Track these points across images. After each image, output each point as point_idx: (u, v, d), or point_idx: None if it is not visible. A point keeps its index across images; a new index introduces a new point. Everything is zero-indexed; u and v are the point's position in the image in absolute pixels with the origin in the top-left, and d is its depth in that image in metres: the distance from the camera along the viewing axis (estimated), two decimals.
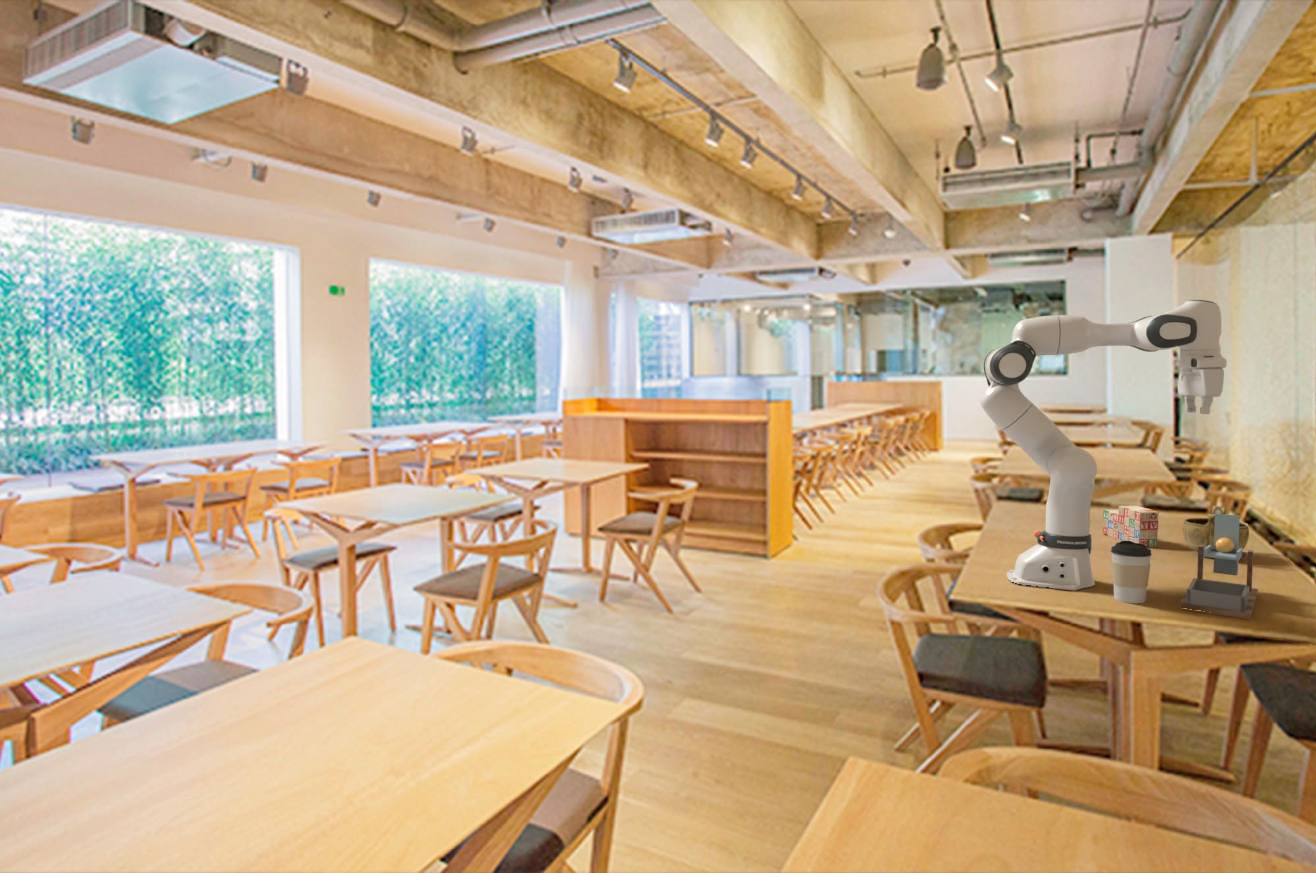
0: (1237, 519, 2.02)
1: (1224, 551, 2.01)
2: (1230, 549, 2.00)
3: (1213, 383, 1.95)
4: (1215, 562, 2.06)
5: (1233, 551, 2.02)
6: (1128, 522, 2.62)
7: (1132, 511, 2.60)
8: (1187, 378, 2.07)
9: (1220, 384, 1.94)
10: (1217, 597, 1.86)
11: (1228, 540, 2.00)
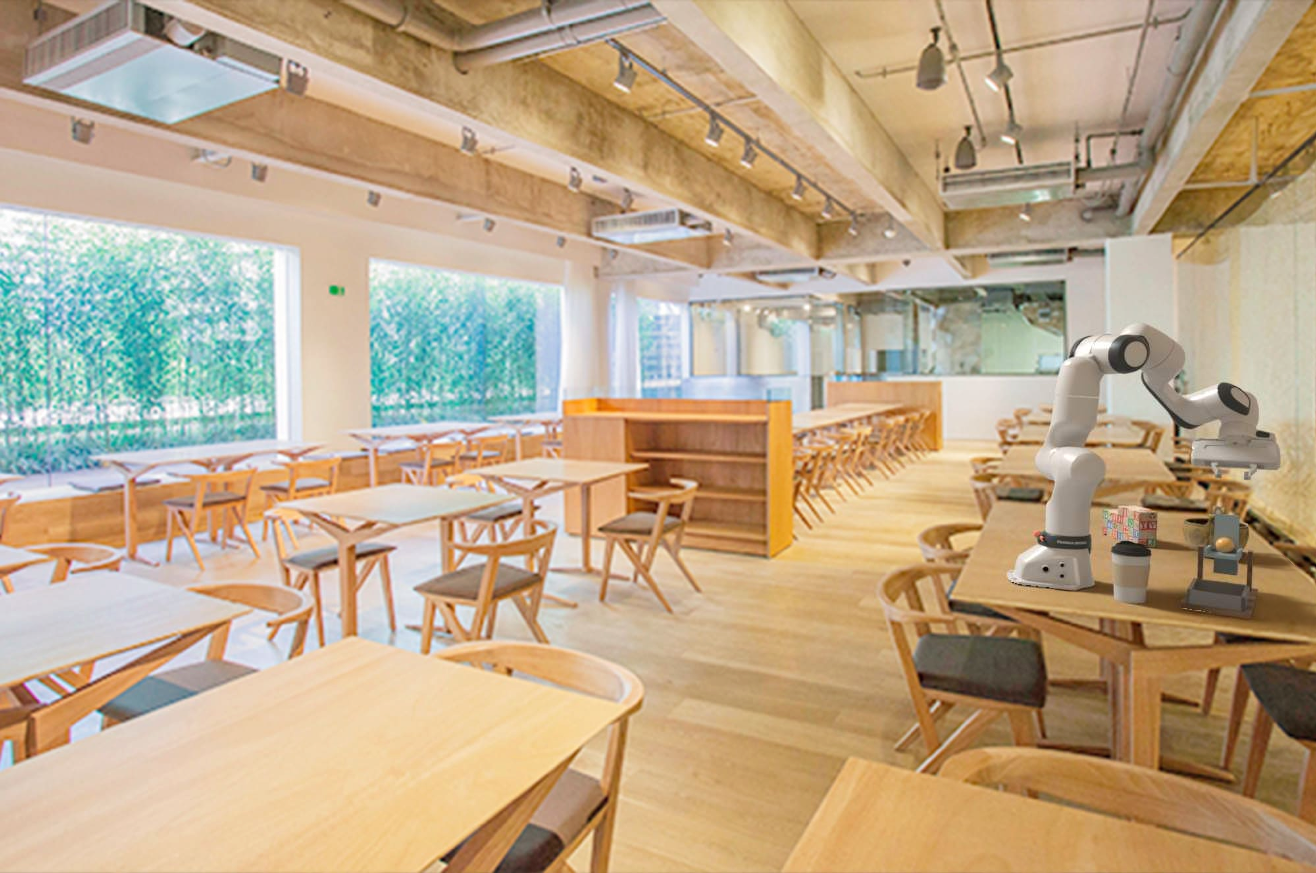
0: (1237, 519, 2.02)
1: (1224, 551, 2.01)
2: (1230, 549, 2.00)
3: None
4: (1215, 562, 2.06)
5: (1233, 551, 2.02)
6: (1127, 522, 2.63)
7: (1131, 511, 2.60)
8: (1221, 448, 2.17)
9: None
10: (1217, 597, 1.86)
11: (1228, 540, 2.00)
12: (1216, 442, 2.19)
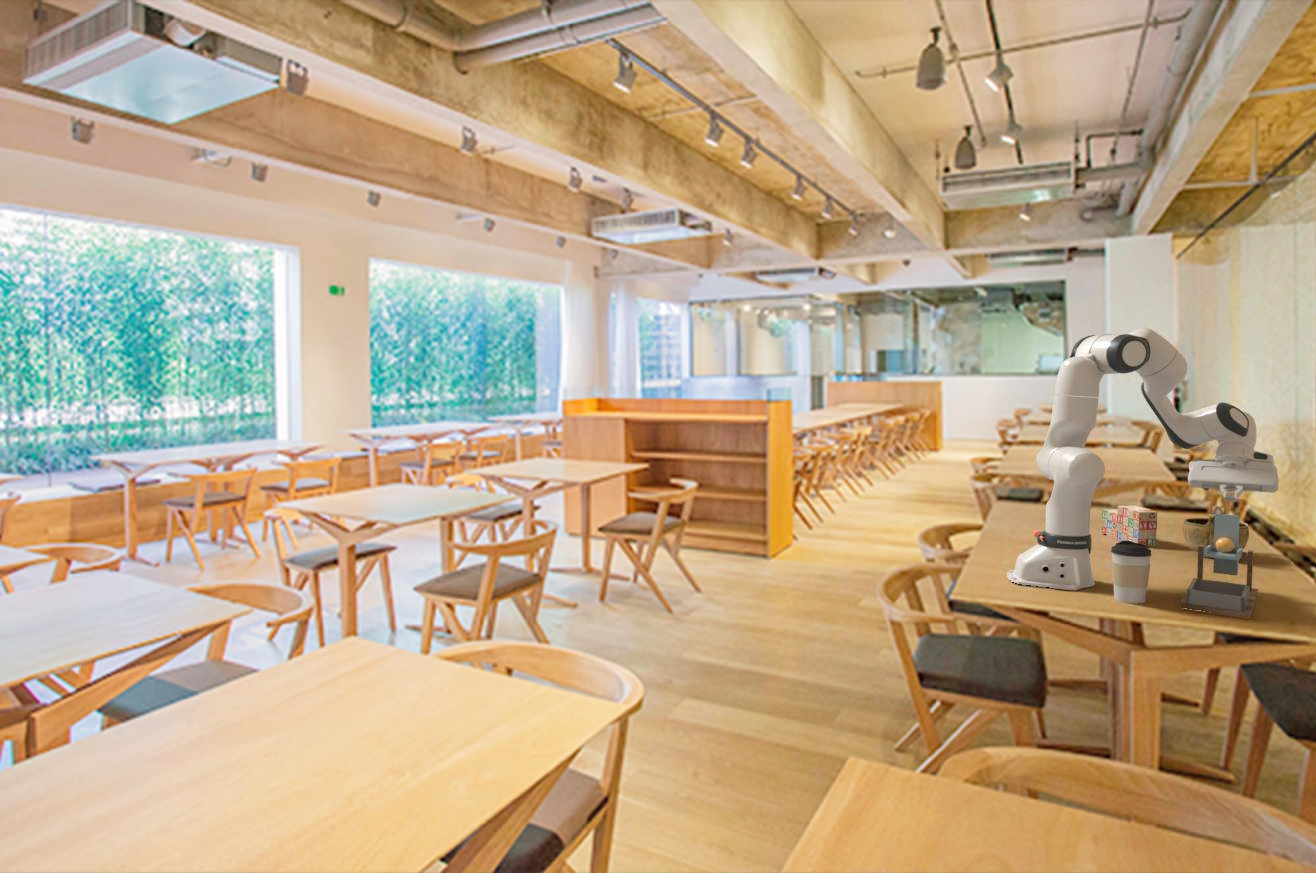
0: (1237, 519, 2.02)
1: (1224, 551, 2.01)
2: (1230, 549, 2.00)
3: None
4: (1215, 562, 2.06)
5: (1233, 551, 2.02)
6: (1127, 522, 2.63)
7: (1131, 511, 2.60)
8: (1218, 469, 2.15)
9: None
10: (1217, 597, 1.86)
11: (1228, 540, 2.00)
12: (1213, 463, 2.16)
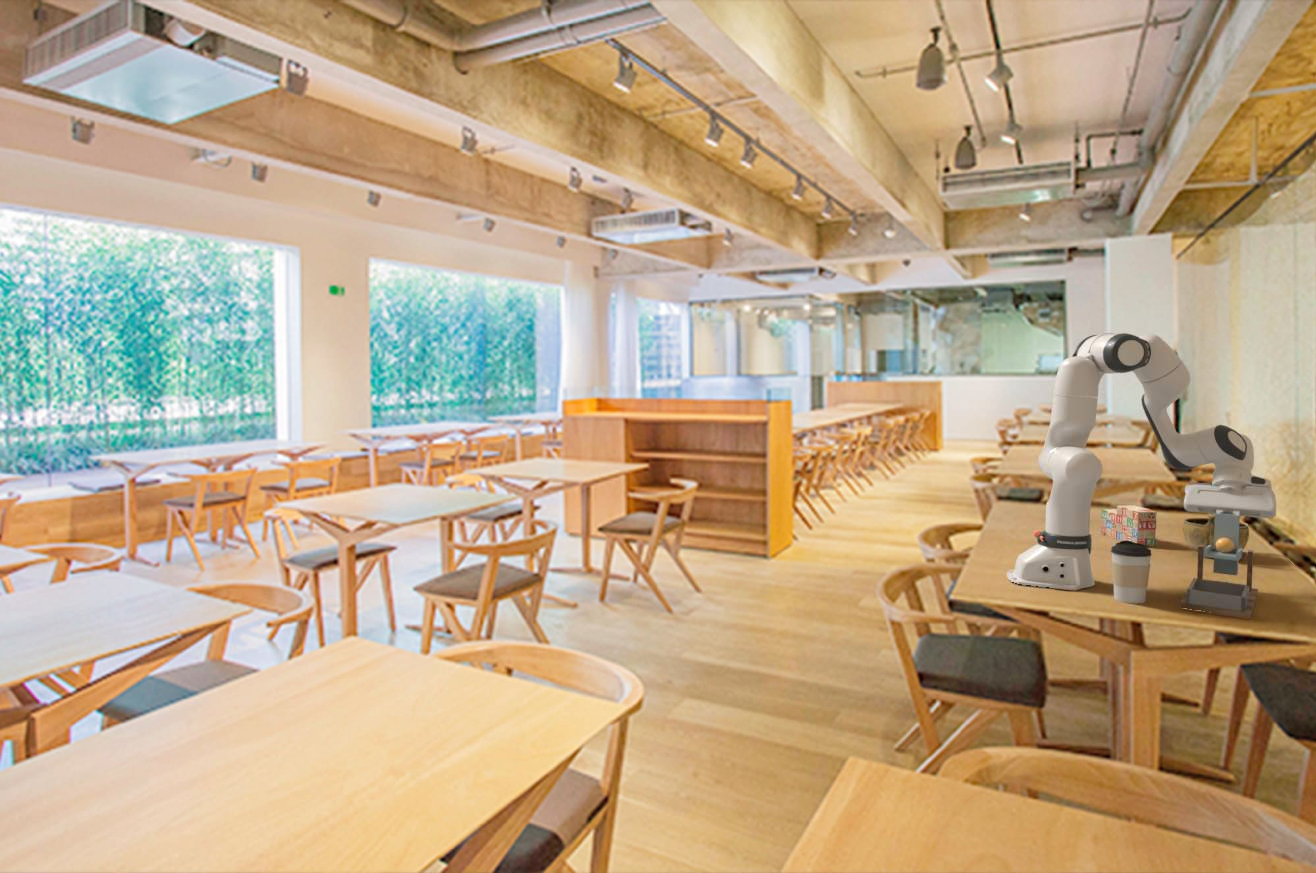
0: (1237, 519, 2.02)
1: (1224, 551, 2.01)
2: (1230, 549, 2.00)
3: None
4: (1215, 562, 2.06)
5: (1233, 551, 2.02)
6: (1126, 522, 2.63)
7: (1130, 511, 2.61)
8: (1215, 493, 2.10)
9: None
10: (1217, 597, 1.86)
11: (1228, 540, 2.00)
12: (1210, 487, 2.12)
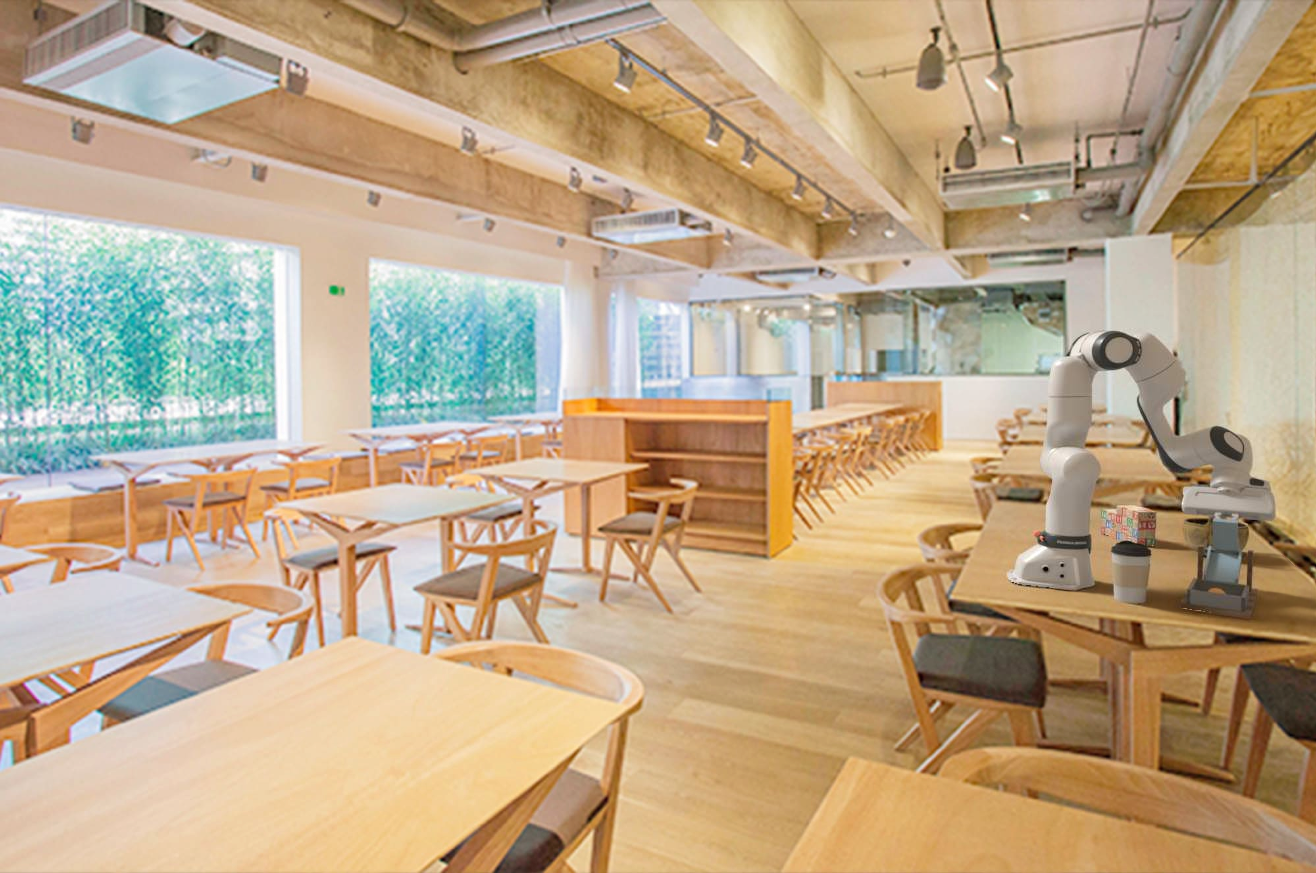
0: (1235, 526, 1.98)
1: (1217, 588, 1.89)
2: (1223, 591, 1.88)
3: None
4: None
5: (1233, 552, 2.02)
6: (1126, 521, 2.63)
7: (1130, 511, 2.61)
8: (1213, 495, 2.07)
9: None
10: (1217, 597, 1.86)
11: None
12: (1208, 489, 2.08)
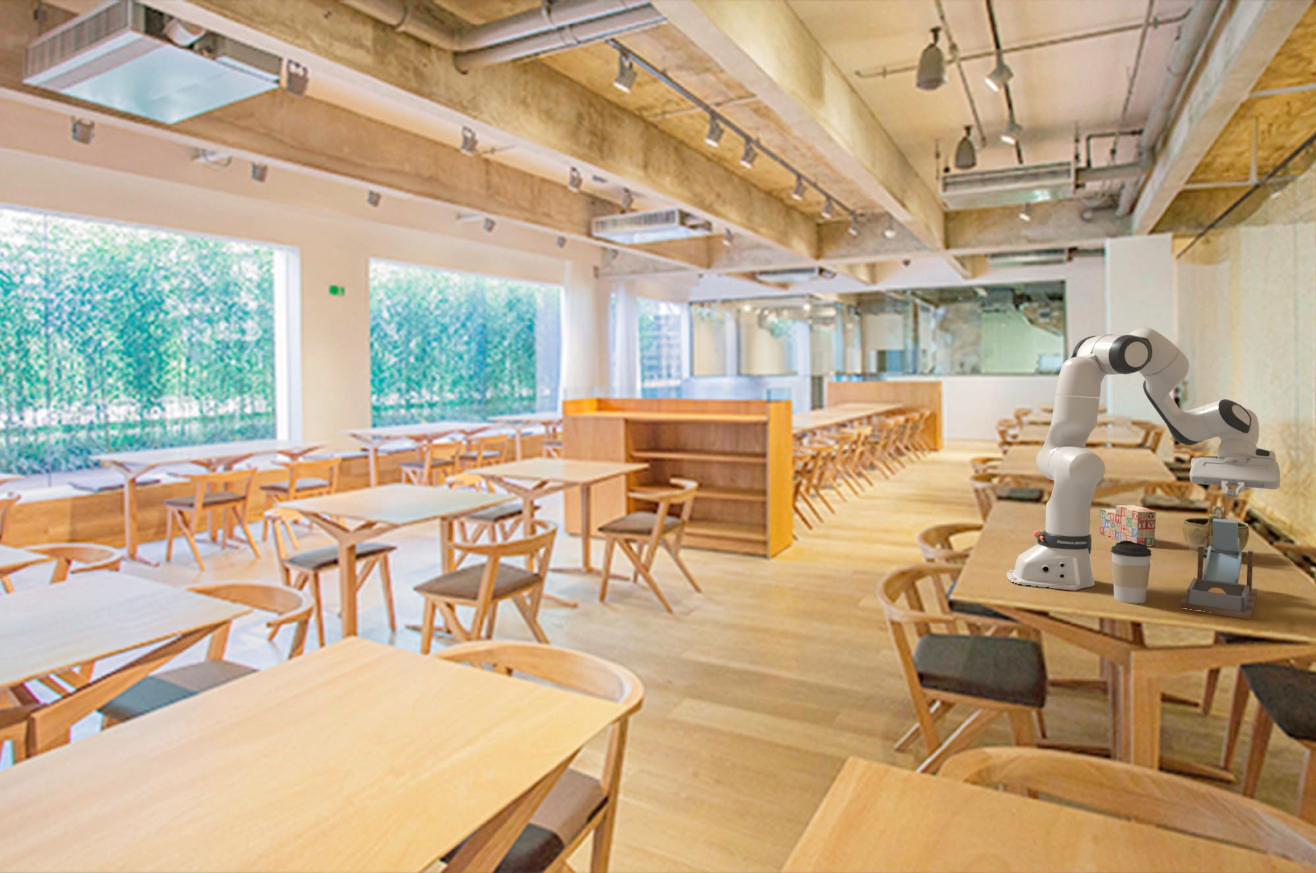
0: (1235, 526, 1.98)
1: None
2: None
3: None
4: None
5: (1233, 552, 2.02)
6: (1125, 521, 2.64)
7: (1129, 510, 2.61)
8: (1220, 465, 2.15)
9: None
10: (1217, 597, 1.86)
11: None
12: (1215, 460, 2.17)
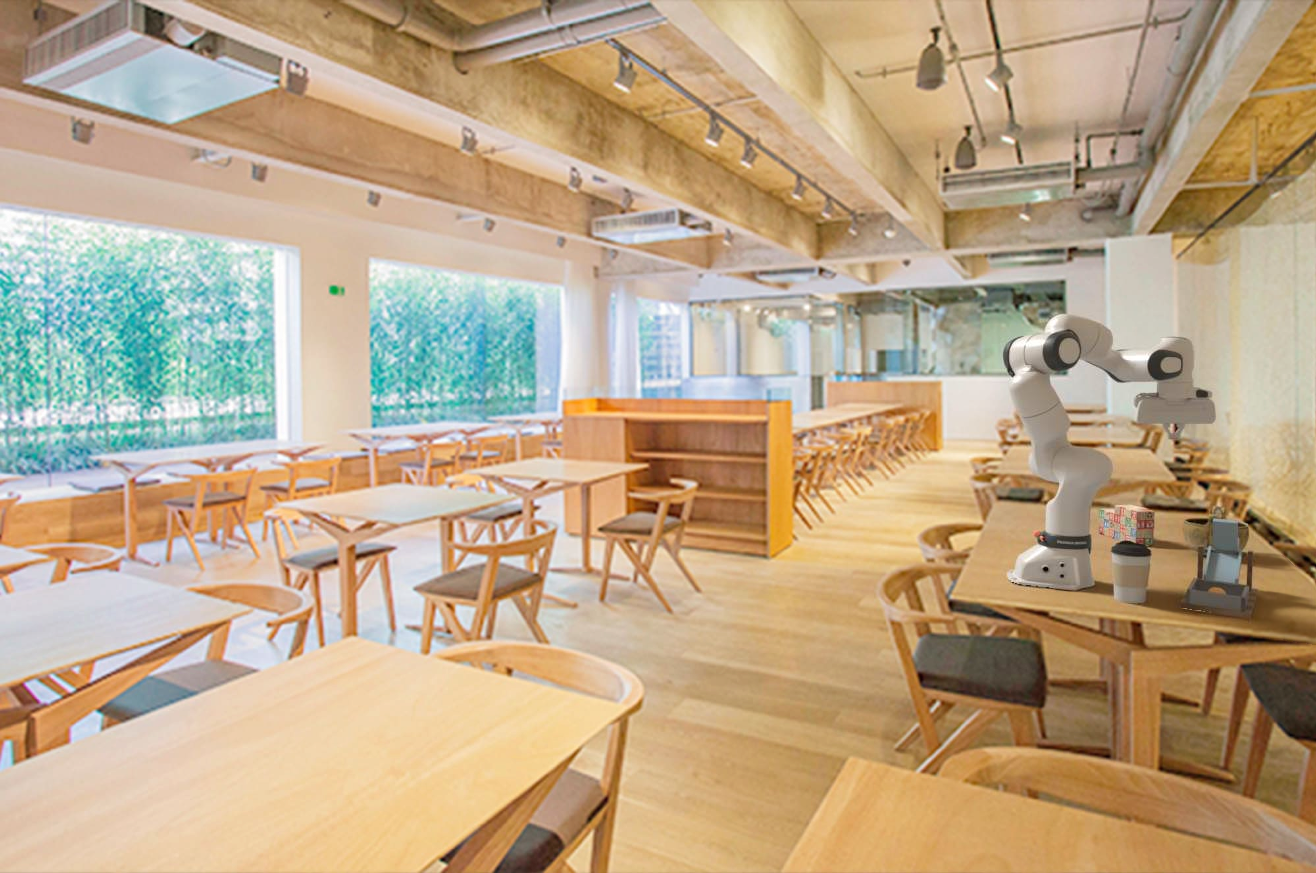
0: (1235, 526, 1.98)
1: (1217, 587, 1.90)
2: None
3: None
4: None
5: (1233, 552, 2.02)
6: (1124, 521, 2.64)
7: (1128, 510, 2.62)
8: (1163, 407, 2.25)
9: None
10: (1217, 597, 1.86)
11: None
12: (1158, 402, 2.25)
